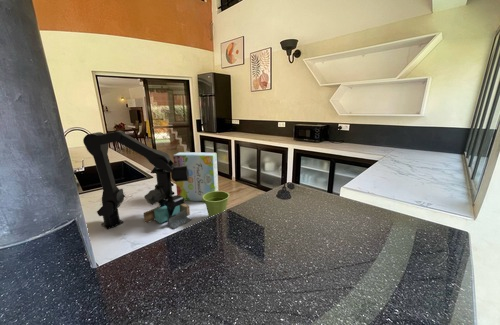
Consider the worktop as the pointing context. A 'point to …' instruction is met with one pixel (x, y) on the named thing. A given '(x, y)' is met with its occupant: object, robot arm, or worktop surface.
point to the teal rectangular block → (164, 213)
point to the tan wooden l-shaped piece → (151, 215)
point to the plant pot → (216, 202)
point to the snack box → (197, 174)
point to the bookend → (178, 219)
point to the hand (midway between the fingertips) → (167, 214)
